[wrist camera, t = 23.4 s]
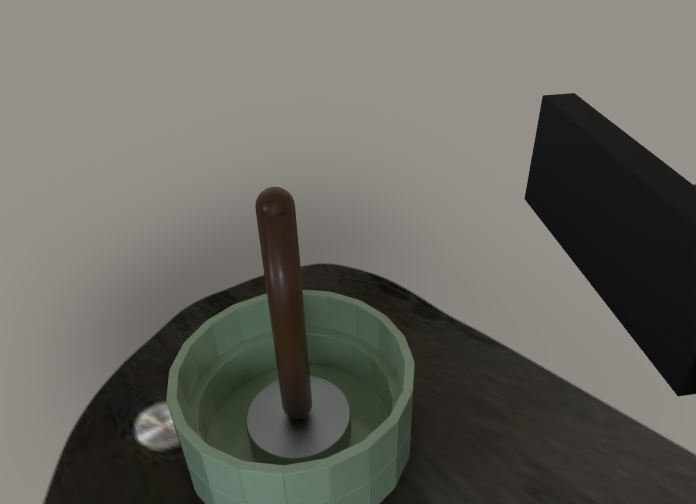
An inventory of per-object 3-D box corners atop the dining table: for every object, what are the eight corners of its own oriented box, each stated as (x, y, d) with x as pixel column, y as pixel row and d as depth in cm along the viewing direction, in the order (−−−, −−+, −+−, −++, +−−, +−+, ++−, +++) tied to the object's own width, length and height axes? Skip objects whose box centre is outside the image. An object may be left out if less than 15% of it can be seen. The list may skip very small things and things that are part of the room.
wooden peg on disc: (272, 495, 36) (229, 243, 25) (235, 416, 42) (185, 177, 31) (370, 449, 39) (368, 201, 28) (323, 380, 44) (307, 148, 33)
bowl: (231, 593, 32) (210, 523, 28) (164, 404, 43) (142, 334, 39) (455, 474, 38) (464, 402, 34) (345, 334, 49) (343, 267, 45)
